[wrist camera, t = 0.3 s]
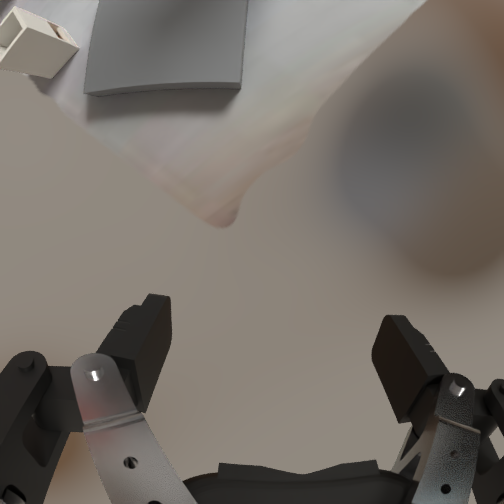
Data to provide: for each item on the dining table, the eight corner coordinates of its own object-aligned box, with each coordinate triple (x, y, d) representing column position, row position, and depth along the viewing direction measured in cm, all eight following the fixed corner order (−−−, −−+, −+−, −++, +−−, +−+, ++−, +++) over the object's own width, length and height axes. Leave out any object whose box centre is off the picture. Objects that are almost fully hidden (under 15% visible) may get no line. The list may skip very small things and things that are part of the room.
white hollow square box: (38, 57, 29) (-15, 44, 17) (64, 27, 28) (14, 5, 16) (51, 79, 31) (-5, 68, 19) (79, 48, 30) (27, 27, 18)
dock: (115, -8, 27) (104, -18, 23) (250, -22, 27) (249, -36, 23) (97, 96, 33) (83, 93, 29) (241, 88, 33) (239, 82, 29)
